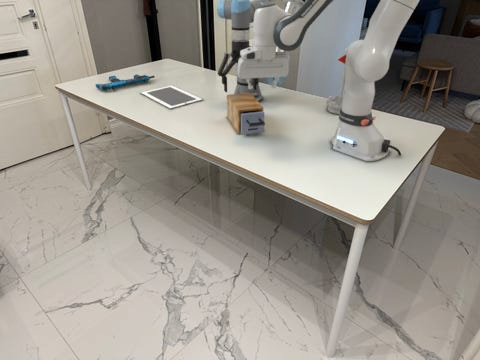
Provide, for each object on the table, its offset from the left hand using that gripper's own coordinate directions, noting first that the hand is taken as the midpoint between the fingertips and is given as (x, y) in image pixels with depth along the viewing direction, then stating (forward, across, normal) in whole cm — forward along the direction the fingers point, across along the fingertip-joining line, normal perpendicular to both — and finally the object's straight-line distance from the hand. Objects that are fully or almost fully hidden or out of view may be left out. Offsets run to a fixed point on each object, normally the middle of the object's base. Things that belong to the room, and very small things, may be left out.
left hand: (240, 90), depth 153 cm
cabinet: (+14, 0, +6) cm, 15 cm away
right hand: (-6, -3, +20) cm, 21 cm away
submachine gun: (+14, +53, -73) cm, 91 cm away
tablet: (+14, +28, -41) cm, 51 cm away
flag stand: (+14, -50, +3) cm, 52 cm away
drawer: (+13, 0, +12) cm, 18 cm away
